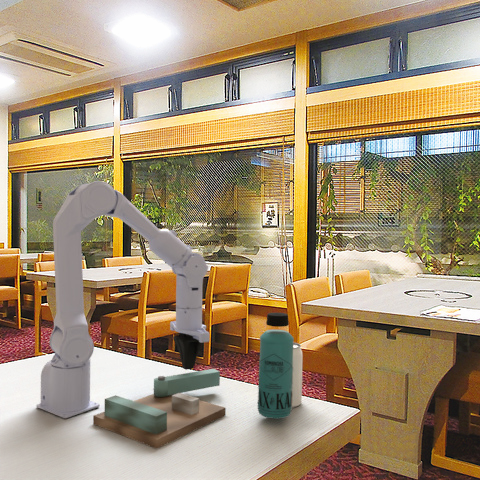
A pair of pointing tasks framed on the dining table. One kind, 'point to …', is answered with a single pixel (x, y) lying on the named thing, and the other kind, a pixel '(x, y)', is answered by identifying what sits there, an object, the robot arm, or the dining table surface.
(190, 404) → the wooden board
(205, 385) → the folding leg
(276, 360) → the beverage bottle
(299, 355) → the can
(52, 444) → the dining table surface
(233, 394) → the dining table surface
